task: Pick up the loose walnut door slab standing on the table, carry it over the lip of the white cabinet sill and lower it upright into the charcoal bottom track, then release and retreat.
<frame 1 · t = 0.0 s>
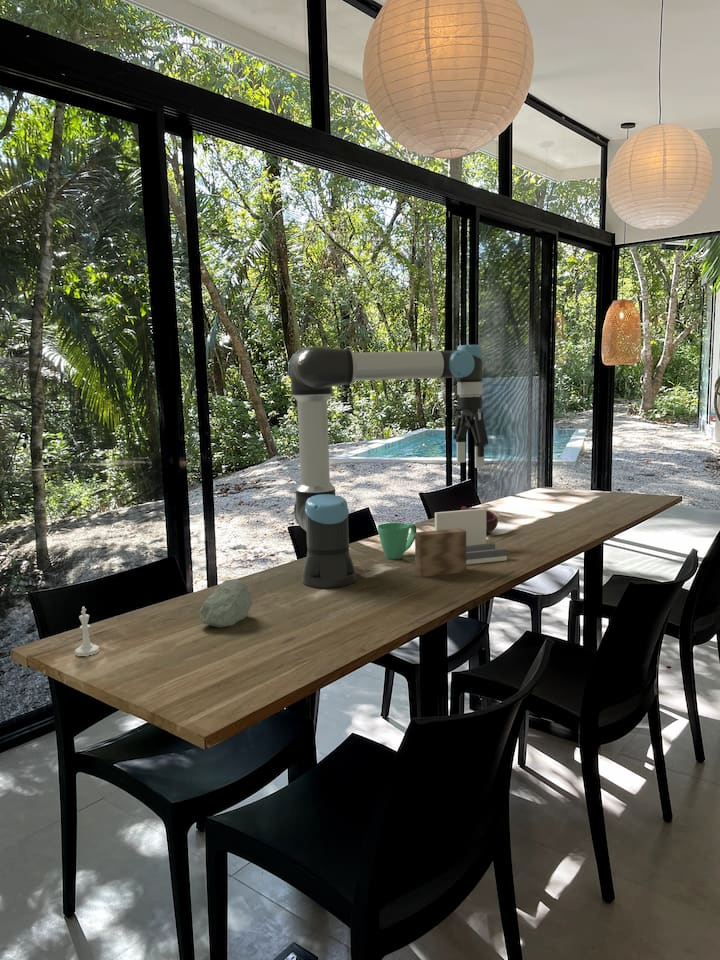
hand: (470, 465, 221), 28 cm above the table, fingers open, 13 cm apart
door slab: (440, 572, 205), on the table
decorative stone: (225, 622, 169), on the table
bowl: (475, 532, 254), on the table
chess piece: (87, 653, 152), on the table
track sill: (469, 556, 221), on the table
mug: (399, 556, 224), on the table
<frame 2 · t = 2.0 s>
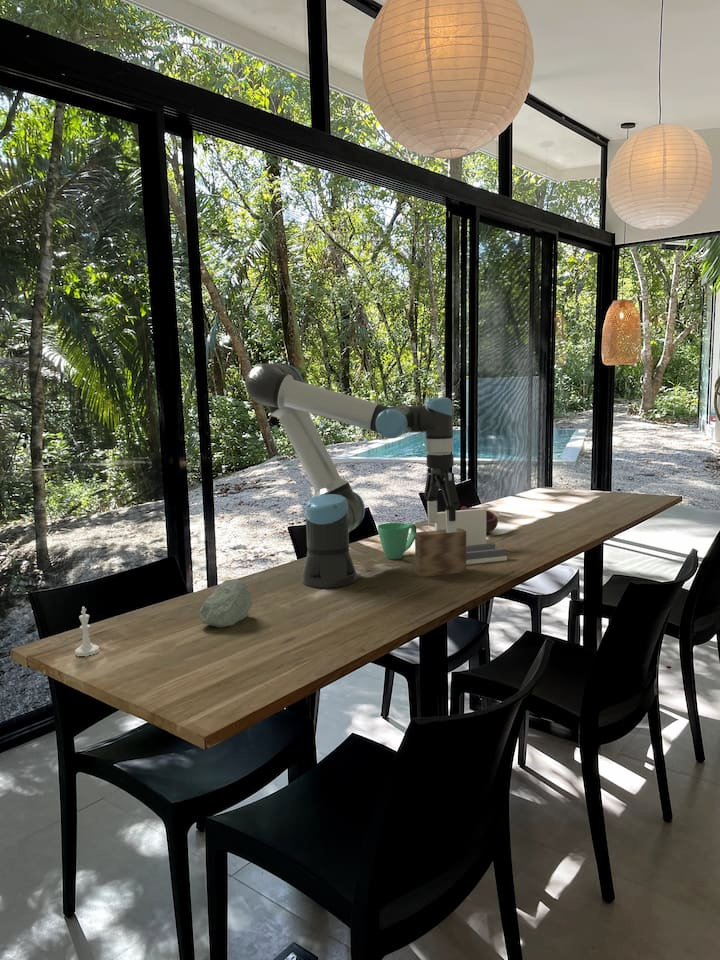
hand: (441, 527, 202), 13 cm above the table, fingers open, 13 cm apart
nothing on the table moved.
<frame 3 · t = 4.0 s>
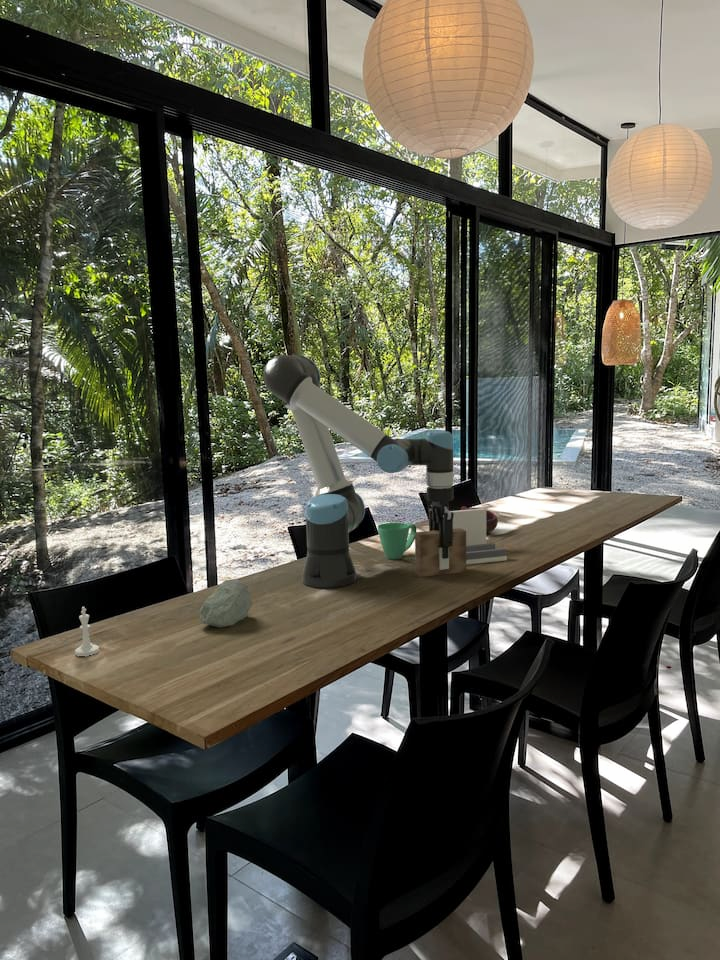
hand: (440, 566, 204), 2 cm above the table, fingers closed on door slab, 4 cm apart
door slab: (440, 572, 204), on the table, touching gripper
everything else where it was.
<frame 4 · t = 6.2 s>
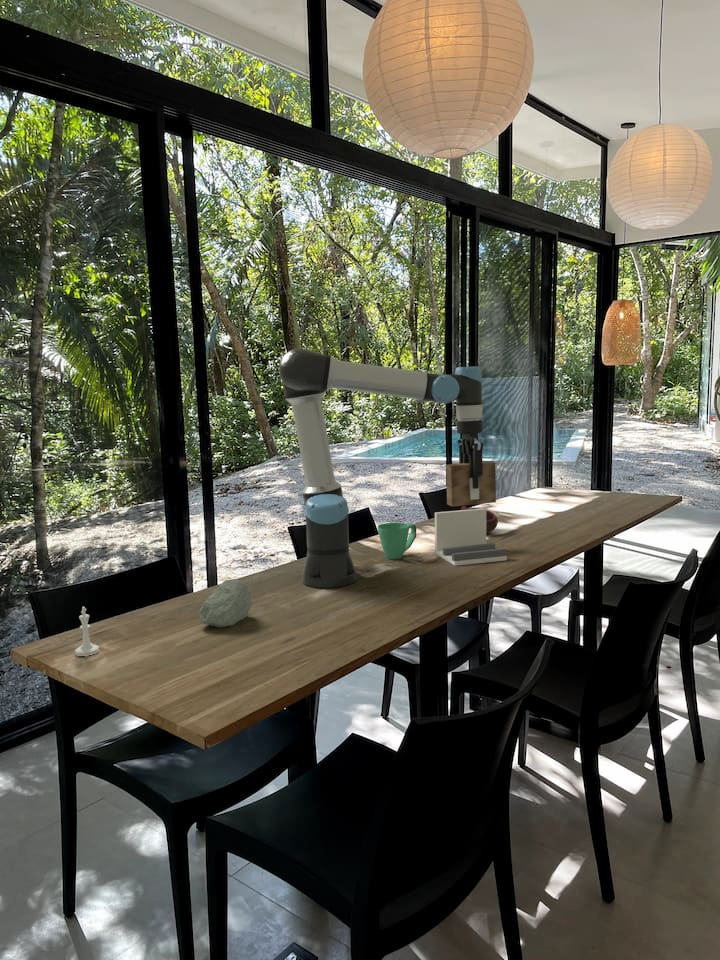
hand: (471, 497, 213), 19 cm above the table, fingers closed on door slab, 4 cm apart
door slab: (471, 503, 213), point 18 cm above the table, touching gripper
everything else where it was.
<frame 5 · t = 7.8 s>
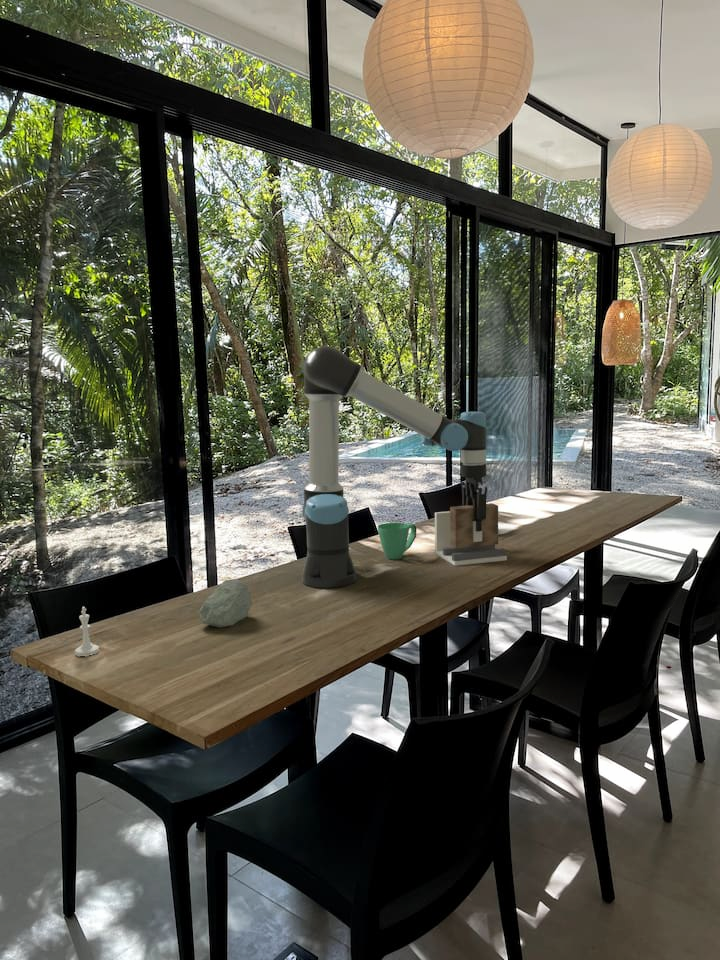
hand: (474, 539, 217), 6 cm above the table, fingers closed on door slab, 4 cm apart
door slab: (474, 544, 217), point 4 cm above the table, touching gripper
everything else where it was.
when the fingers open (4 cm above the table, at t = 8.7 s): door slab drops 1 cm, resting on track sill.
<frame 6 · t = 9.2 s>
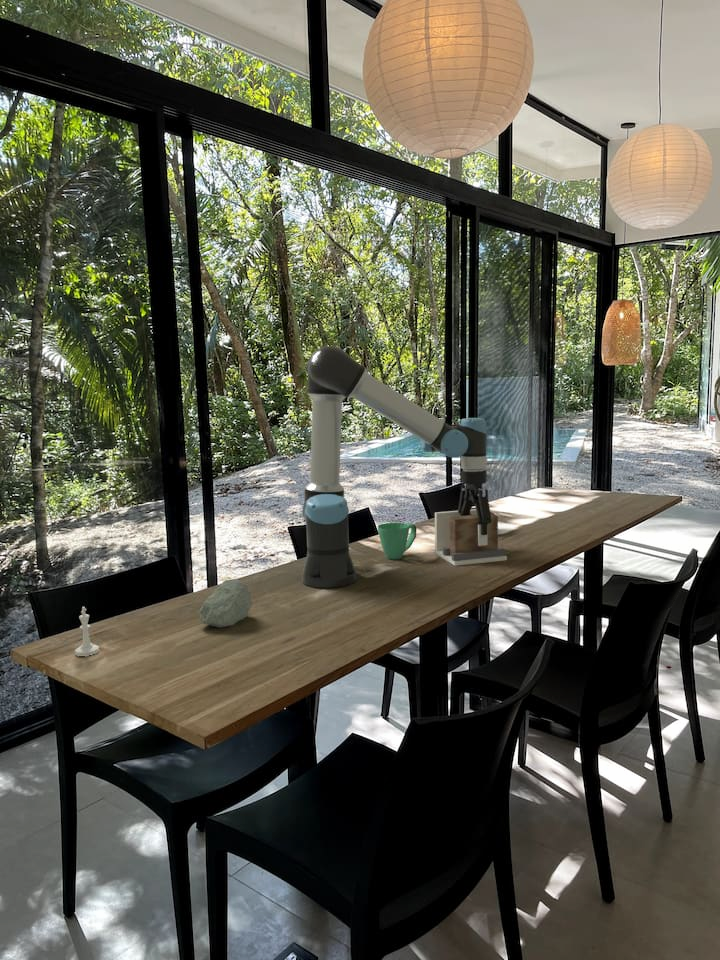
hand: (474, 541, 217), 6 cm above the table, fingers open, 11 cm apart
door slab: (473, 555, 218), point 1 cm above the table, touching track sill
everything else where it was.
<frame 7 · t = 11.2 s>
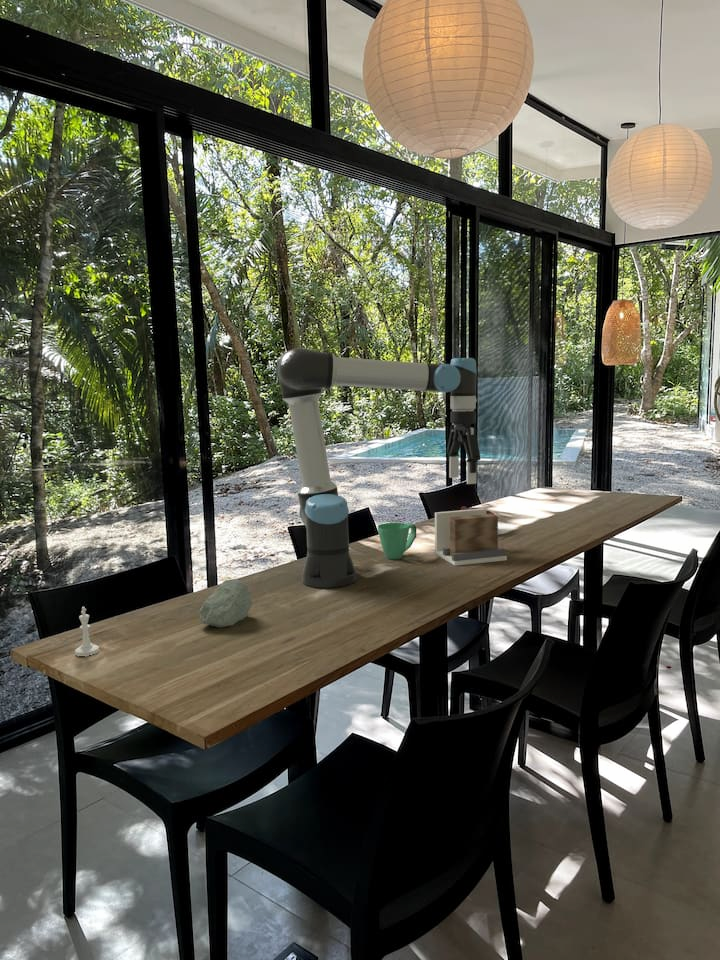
hand: (462, 480, 216), 24 cm above the table, fingers open, 13 cm apart
nothing on the table moved.
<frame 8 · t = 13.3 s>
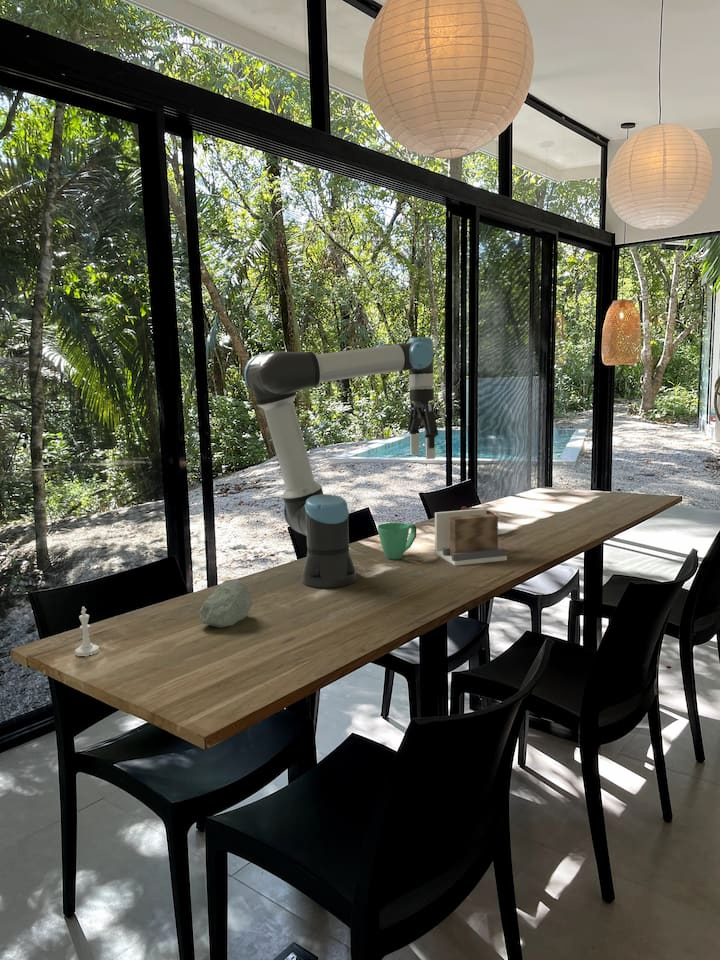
hand: (422, 456, 224), 31 cm above the table, fingers open, 13 cm apart
nothing on the table moved.
at the end: door slab inside the target area on the track sill (0.0 cm from its centre), point 1.2 cm above the track sill's base; door slab tilted 0°; the gripper is holding nothing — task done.
